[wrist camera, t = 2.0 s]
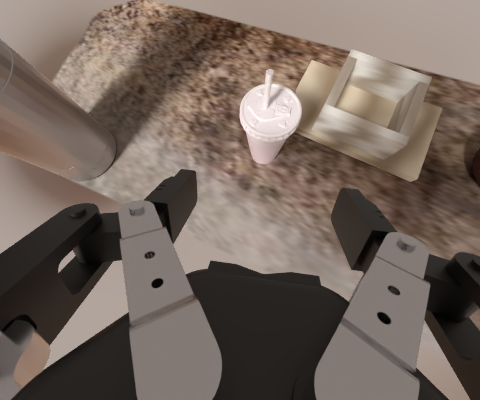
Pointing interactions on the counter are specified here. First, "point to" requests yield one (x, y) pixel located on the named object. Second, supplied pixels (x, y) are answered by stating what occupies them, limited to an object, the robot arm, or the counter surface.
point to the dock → (369, 112)
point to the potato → (476, 167)
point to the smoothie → (269, 118)
